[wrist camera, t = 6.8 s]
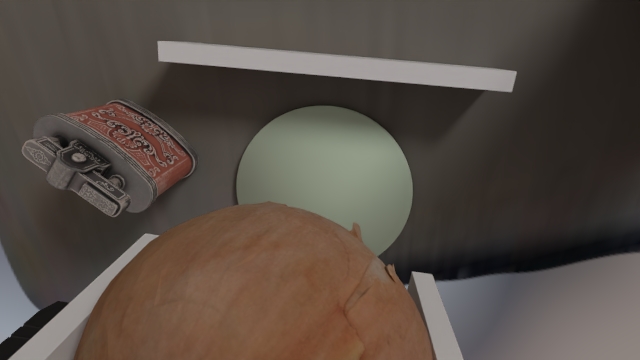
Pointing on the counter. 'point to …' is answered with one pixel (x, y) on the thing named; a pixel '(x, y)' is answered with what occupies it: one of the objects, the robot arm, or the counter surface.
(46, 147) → the lighter
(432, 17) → the counter surface
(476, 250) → the counter surface
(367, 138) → the pad
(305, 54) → the low wall
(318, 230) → the onion
